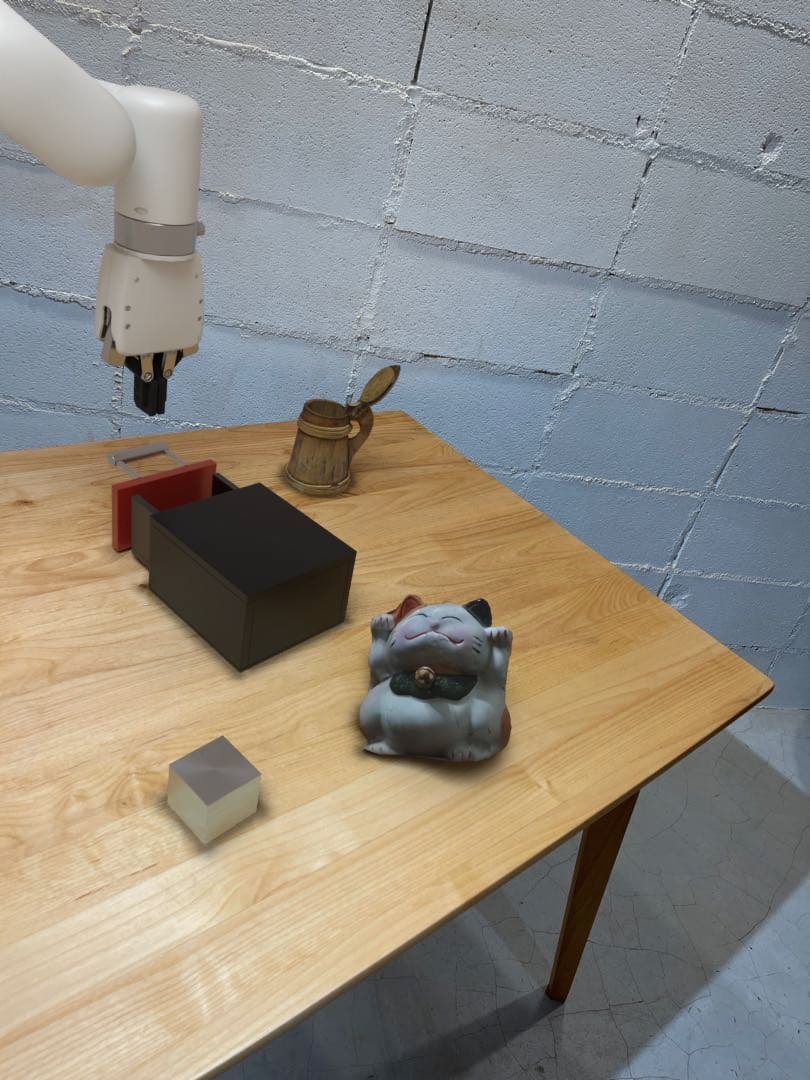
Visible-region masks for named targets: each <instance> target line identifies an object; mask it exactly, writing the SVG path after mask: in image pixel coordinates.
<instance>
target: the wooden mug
mask: <svg viewBox="0 0 810 1080" xmlns="http://www.w3.org/2000/svg"><path fill="white" fill-rule="evenodd" d="M401 371H402V367H401V365H400V364H392V365H388V366H386V367H385V366H384V367H383V368H381V369H379V370H378V371H377V372H376V373H374V375H373V376H372V377H371V378H370V379H368V381H367V383H366V384H365V386H364V387H363V389H362V391H361V395H360V397H359V398H358V399H357V401H356V402H347V403H346V404H345V406H344V405H343V404H341V403H339V402H338V401H335V400H332V399H326V398H312V399H309V400H307V401H305V402H304V403H303V405H302V410H301V412H300V413H299V415H298V417H297V421H296V426H297V431H296V436H295V439H294V443H293V447H292V450H291V455H290V459H289V461H288V462H287V464H286V465H285V470H284V473H283V478H284V481H285V482H286V483H287V485H288V486H290V487H291V488H292V489H295V490H297V491H299V492H301V493H305V494H308V495H313V496H315V495H316V496H331V495H335V494H340V493H342V492H344V491H346V490H347V488H348V487H349V485H350V483H351V472H350V466H351V464H352V461H353V458H354V457H355V455H356V454H357V453H358V452H359V450H360V449H361V448H362V446H363V445H364V444H365V443H366V441H367V440H368V438H369V437H370V435H371V433H372V430H373V428H374V420H375V419H374V412H373V410H372V407H373V406H375V405H377V404H378V403H379V402H381V401H382V400H383V399H384V398H385V397H387V396H388V394H389V393H390V392H391V391H392V389H393V388H394V386H395V385H396V383H397V382H398V380H399V377H400V374H401ZM352 422H357V423H358V425H359V430H358V432H357V433H356V434H355V435H354V436H352V437H349V435H350V433H351V432H352V430H353V429H354V425H353V423H352Z"/></svg>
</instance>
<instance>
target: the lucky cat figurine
mask: <svg viewBox="0 0 810 1080" xmlns="http://www.w3.org/2000/svg"><path fill="white" fill-rule="evenodd" d="M492 625H493V616H492V610H491V606H490V604H489V601H487V600H486V599H485V598H482V597H479V598H477V599H474V600H471V601H467V602H466V603H463V604H459V603H455V602H442V603H437V602H435V603H434V602H433V603H429V604H427V603H426V602H424V601H423V600H422V598H421V596H418V595H415V594H411V593H409V594H406V596H405V597H404V599H403V600H402V601H401V602H400V603H399V604H398V606H397V607H396V608H394V609H392V610H390V611H387V612H384V613H381V614H380V615H375V616H373V617H372V618H371V619H370V626H369V627H370V634H371V645H370V647H369V652H368V656H369V657H368V661H367V664H368V667H369V685H368V692H367V695H366V696H365V697H364V698H363V700H362V702H361V704H360V707H359V712H358V714H359V719H358V721H359V723H358V727H359V728H360V730H361V732H362V733H363V735H364V737H365V739H367V742H368V743H367V745H365V746H363V747H362V749H363V750H366V751H369V752H372V753H374V754H378V755H393V756H394V755H401V756H402V755H404V756H413V757H420V758H424V759H425V758H426V759H433V760H439V761H445V762H453V763H457V762H476V763H478V762H480V761H484V760H487V759H491V757H493V756H495V755H498V754H499V753H501V752H502V751H503V750H504V749H505V748H507V746H508V744H509V742H510V739H511V734H512V719H511V715H510V712H509V708H508V707H507V703H506V692H507V691H506V690H507V689H506V688H507V687H506V686H507V681H508V672H509V671H508V670H509V663H510V657H511V656H512V652H513V651H512V650H513V639H514V636H513V635H514V633H513V631H512V630H510V628H509V627H506V626H504V625H501V626H497V625H495V626H492Z"/></svg>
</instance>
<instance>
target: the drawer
mask: <svg viewBox="0 0 810 1080" xmlns="http://www.w3.org/2000/svg"><path fill="white" fill-rule="evenodd" d="M161 456H165V457H167V459H169V460H170V461H172V462H173V463H175V465H177V466H178V467H175V468H172V469H168V470H164V471H159V472H157V473H153V474H149V475H145V476H141V475H140V474H139V473H138V472H137V471H135V469H133V468H132V467H130V466H129V464H132V463H137V462H142V461H145V460H149V459H150V460H151V459H154V458H158V457H161ZM106 460H107V463H108V465H109V466H110V468H117V467H118V468H119V469H120V470H121V471H122V472H124V473H125V474H126V475H127V476H128V477H129V478H131V479H130V480H126V481H122V482H118V483H115V484H111V546H112V548H113V549H114V550H115V551H116V552H120V551H124V550H126V549H130V548H131V555H133V556H134V557H135V558H136V559H137V560H139V562H141V563H142V564H143V565H144V566H145V567H146V568H148V569H149V543H150V515H152V514H155V513H158V512H162V511H165V510H169V509H172V508H175V507H179V506H182V505H185V504H189V503H192V502H195V501H199V500H202V499H205V498H209V497H212V496H215V495H219V494H222V493H225V492H229V491H232V490H235V489H239V488H240V487H239V486H237V484H235V483H234V482H232V481H231V480H230V479H228V478H226V477H225V476H224V475H222V474H221V473H220V472H217V462H216V461H214V460H212V459H206V460H202V461H199V462H195V463H191V464H189V463H188V462H186V461H185V460H183V459H182V458H181V457H179V456H178V455H177V454H175V453H174V452H173V451H172V450H170V448H169V444H168V443H167V442H166V441H165V440H161V441H157V442H153V443H148V444H143V445H140V446H135V447H131V448H127V449H123V450H118V451H114V452H110V453H107V455H106Z"/></svg>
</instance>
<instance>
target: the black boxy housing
mask: <svg viewBox="0 0 810 1080" xmlns="http://www.w3.org/2000/svg"><path fill="white" fill-rule="evenodd" d="M357 554H358V550H356V549H355V548H353V547H352V546H350V544H347V543H346V542H345V541H343V540H342V539H340V538H339V537H338V536H336V535H335V534H333V533H332V532H330V530H328V529H326V528H325V527H324V526H322V525H321V524H320V523H318V522H316V521H315V520H314V519H312V518H311V517H310V516H308V515H307V514H306V513H304V512H303V511H301V510H300V509H298V508H297V507H296V506H294V505H292V503H290V502H289V501H287V500H285V499H284V498H283V497H282V496H280V495H279V494H277V493H276V492H275V491H273V490H271V489H270V488H269V487H268V486H266V485H265V484H263V483H261V482H260V481H259V482H255V483H253V484H249V485H246V486H242V487H239V489H235V490H232V491H229V492H225V493H222V494H219V495H215V496H212V497H209V498H205V499H202V500H199V501H195V502H192V503H189V504H185V505H182V506H179V507H175V508H172V509H169V510H165V511H162V512H158V513H155V514H152V515H150V543H149V568H148V590H149V591H150V592H151V593H152V594H153V595H154V596H155V597H156V598H157V599H158V600H159V601H161V602H162V603H163V604H164V605H165V606H166V607H167V608H168V609H170V611H171V612H173V614H174V615H176V617H178V618H179V619H180V620H181V621H183V623H185V624H186V626H188V627H189V628H190V629H191V630H193V632H195V634H196V635H198V636H199V637H200V638H201V639H202V640H203V641H204V642H206V644H207V645H208V646H210V647H211V648H212V649H213V650H214V651H215V652H216V653H217V654H219V656H221V658H223V659H224V660H225V661H226V662H227V663H228V664H229V665H231V667H233V668H234V669H235V670H236V671H237V672H238V673H239V674H241V673H243V672H245V671H248V670H249V669H251V668H254V667H256V666H257V665H260V664H262V663H264V662H265V661H268V660H271V659H272V658H275V657H276V656H278V655H280V654H282V653H284V652H286V651H288V650H290V649H292V648H294V647H296V646H298V645H301V644H302V643H304V642H306V641H309V640H311V639H312V638H314V637H317V636H319V635H321V634H323V633H325V632H327V631H329V630H331V629H333V628H335V627H337V626H339V625H341V624H343V623H344V622H345V619H346V614H347V609H348V604H349V597H350V592H351V586H352V582H353V576H354V569H355V564H356V559H357Z"/></svg>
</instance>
